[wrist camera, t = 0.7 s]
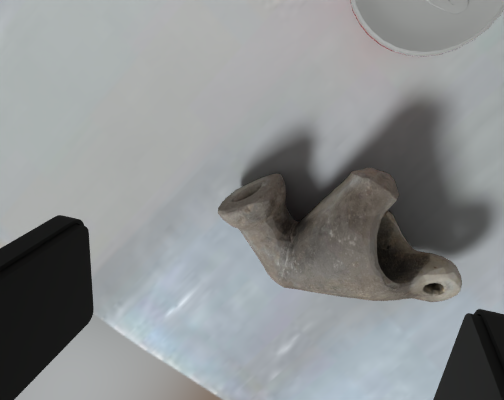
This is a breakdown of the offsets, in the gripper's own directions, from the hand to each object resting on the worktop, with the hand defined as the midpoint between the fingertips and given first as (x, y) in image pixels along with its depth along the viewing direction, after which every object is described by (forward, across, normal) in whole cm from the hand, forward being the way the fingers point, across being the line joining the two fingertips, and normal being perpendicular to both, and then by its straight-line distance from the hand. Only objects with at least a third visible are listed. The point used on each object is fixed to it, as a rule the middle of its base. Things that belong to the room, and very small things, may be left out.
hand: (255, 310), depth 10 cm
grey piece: (+27, -2, +9) cm, 28 cm away
